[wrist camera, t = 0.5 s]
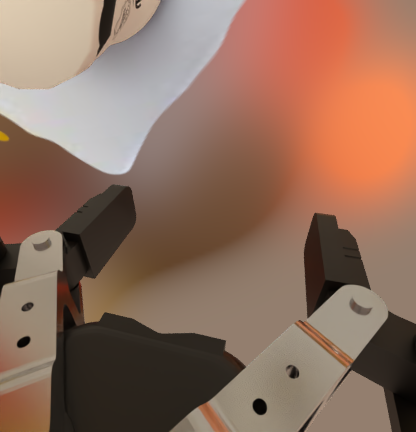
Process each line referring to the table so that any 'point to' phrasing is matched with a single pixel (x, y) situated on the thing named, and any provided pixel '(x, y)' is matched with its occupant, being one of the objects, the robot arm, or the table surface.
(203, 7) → the table surface
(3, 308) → the robot arm
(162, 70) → the table surface
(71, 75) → the milk container
